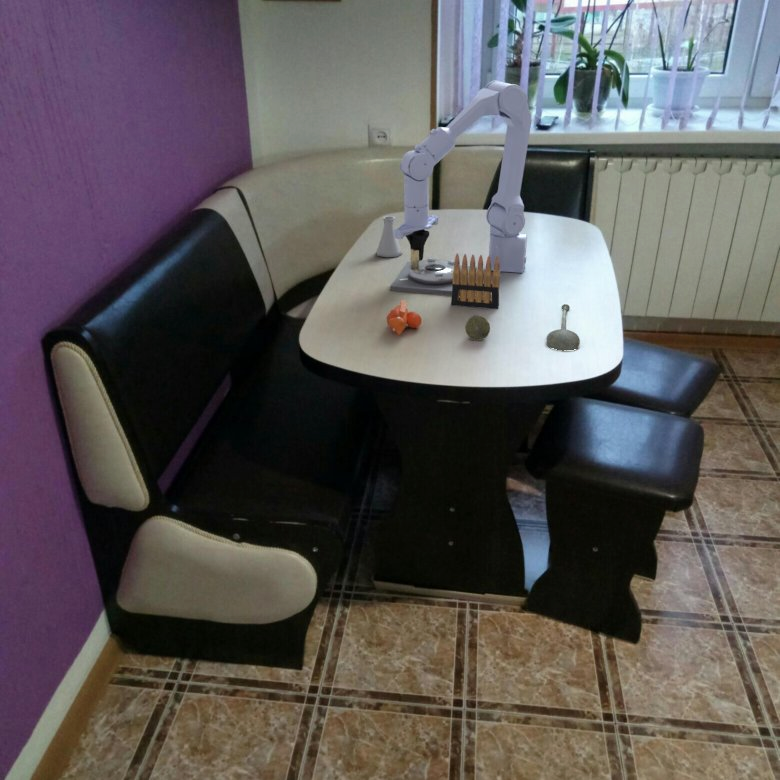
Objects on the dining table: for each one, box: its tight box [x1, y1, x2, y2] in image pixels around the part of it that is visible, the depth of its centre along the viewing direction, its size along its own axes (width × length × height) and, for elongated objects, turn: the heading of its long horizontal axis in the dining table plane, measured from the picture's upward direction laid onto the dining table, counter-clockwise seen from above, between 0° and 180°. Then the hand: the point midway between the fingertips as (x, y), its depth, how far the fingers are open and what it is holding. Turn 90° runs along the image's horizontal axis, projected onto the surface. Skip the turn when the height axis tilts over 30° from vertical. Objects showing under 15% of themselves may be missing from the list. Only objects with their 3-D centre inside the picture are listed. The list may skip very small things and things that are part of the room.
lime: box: [464, 314, 491, 341], centre depth 148 cm, size 4×5×5 cm
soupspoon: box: [546, 304, 581, 352], centre depth 152 cm, size 22×3×7 cm
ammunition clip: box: [450, 253, 501, 310], centre depth 161 cm, size 11×2×12 cm, turn 76°
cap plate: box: [389, 261, 478, 296], centre depth 179 cm, size 18×18×1 cm
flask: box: [375, 215, 403, 258], centre depth 194 cm, size 7×7×10 cm
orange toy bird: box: [386, 299, 422, 336], centre depth 154 cm, size 5×8×12 cm
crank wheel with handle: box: [409, 248, 462, 285], centre depth 177 cm, size 13×13×7 cm
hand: (417, 260), depth 177 cm, fingers closed, pressing on crank wheel with handle
